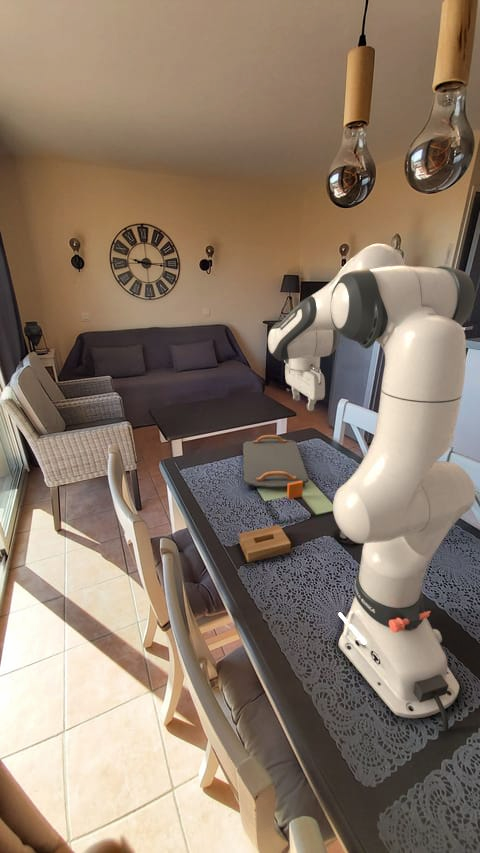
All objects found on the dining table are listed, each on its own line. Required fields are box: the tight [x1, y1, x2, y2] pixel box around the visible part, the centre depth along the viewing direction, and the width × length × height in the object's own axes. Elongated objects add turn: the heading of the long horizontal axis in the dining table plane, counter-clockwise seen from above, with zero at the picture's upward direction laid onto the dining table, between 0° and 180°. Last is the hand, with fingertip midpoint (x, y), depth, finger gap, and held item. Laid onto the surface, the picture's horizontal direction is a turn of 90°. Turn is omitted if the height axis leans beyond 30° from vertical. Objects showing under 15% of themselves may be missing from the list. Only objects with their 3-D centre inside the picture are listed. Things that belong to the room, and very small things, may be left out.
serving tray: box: [242, 434, 310, 490], centre depth 139 cm, size 39×23×6 cm, turn 0°
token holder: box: [238, 524, 292, 563], centre depth 98 cm, size 8×12×4 cm, turn 107°
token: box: [286, 481, 303, 500], centre depth 119 cm, size 1×5×6 cm, turn 107°
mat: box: [256, 477, 333, 516], centre depth 120 cm, size 20×20×1 cm
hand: (303, 405), depth 113 cm, fingers open, 8 cm apart
